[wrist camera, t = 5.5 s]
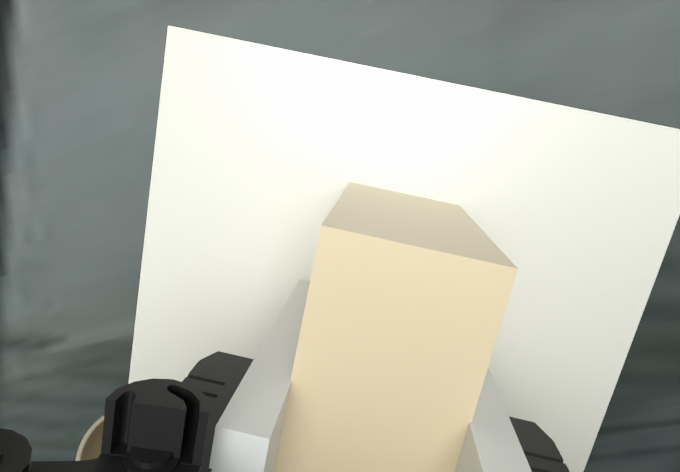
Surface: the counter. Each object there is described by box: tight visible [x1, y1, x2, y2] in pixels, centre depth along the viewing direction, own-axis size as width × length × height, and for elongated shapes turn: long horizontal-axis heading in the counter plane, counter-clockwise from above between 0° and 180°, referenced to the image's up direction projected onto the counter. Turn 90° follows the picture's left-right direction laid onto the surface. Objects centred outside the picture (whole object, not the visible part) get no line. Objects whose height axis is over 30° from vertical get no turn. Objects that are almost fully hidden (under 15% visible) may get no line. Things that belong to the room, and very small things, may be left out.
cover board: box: [128, 26, 680, 472], centre depth 12 cm, size 14×14×7 cm
